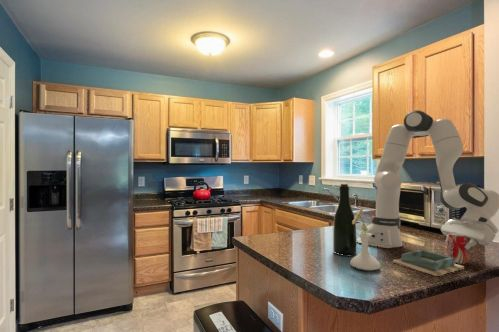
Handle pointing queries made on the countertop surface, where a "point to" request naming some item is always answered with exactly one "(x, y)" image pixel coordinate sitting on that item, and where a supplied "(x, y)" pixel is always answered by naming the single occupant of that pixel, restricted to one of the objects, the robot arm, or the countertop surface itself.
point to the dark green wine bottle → (344, 225)
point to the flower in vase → (364, 249)
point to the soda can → (457, 248)
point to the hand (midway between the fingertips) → (455, 245)
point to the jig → (429, 262)
